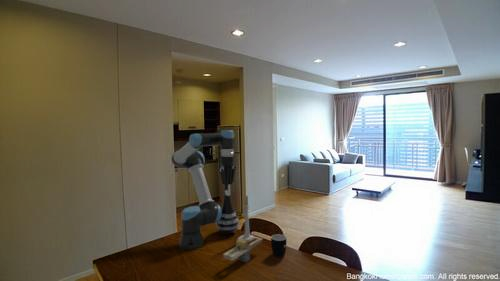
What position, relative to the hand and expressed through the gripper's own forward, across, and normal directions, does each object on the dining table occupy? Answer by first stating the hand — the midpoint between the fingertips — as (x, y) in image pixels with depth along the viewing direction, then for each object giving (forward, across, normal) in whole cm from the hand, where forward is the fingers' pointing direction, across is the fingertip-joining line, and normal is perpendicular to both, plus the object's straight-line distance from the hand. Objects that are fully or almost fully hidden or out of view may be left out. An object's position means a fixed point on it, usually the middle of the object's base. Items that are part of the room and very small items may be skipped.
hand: (227, 195), depth 155 cm
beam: (+34, -3, -15) cm, 37 cm away
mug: (+34, +15, -27) cm, 46 cm away
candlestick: (+34, +18, 0) cm, 39 cm away
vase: (+34, +20, +19) cm, 44 cm away
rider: (+27, -4, -15) cm, 31 cm away
